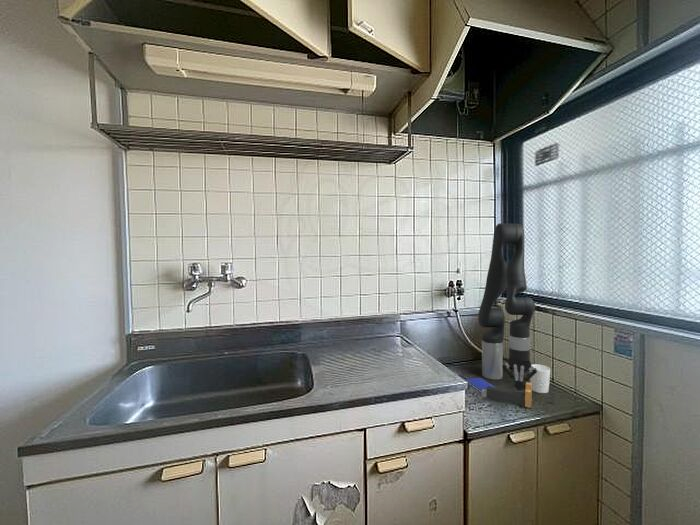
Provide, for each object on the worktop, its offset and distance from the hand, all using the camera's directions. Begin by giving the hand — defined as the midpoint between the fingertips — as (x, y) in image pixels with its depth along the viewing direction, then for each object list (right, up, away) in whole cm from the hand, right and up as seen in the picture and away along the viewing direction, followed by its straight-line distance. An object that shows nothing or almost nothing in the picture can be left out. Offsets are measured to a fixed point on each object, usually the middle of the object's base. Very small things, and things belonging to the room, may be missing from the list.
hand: (519, 389), depth 134 cm
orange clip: (+3, -6, -1) cm, 6 cm away
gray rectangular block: (-4, -6, +3) cm, 8 cm away
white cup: (+15, -5, +12) cm, 19 cm away
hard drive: (-9, -6, +17) cm, 20 cm away
